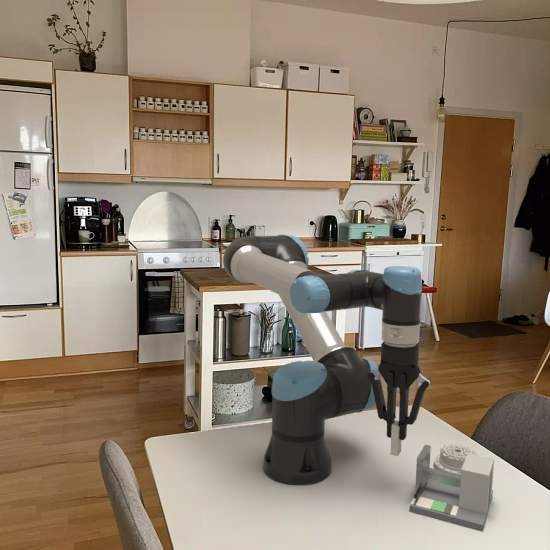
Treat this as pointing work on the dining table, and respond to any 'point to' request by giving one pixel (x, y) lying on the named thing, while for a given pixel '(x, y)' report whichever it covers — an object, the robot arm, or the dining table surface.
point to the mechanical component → (451, 458)
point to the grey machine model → (431, 473)
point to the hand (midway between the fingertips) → (395, 452)
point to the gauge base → (450, 499)
